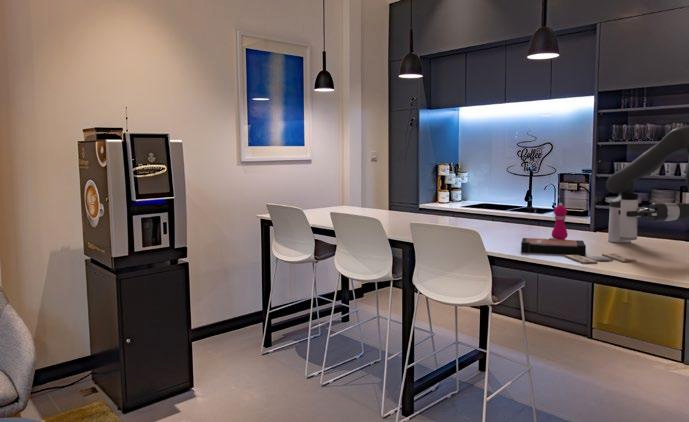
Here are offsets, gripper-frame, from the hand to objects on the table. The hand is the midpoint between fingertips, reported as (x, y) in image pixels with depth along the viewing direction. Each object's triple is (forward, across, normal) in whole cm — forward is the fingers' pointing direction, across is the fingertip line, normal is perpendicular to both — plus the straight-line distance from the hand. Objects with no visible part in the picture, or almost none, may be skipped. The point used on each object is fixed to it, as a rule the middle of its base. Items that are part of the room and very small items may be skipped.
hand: (622, 213), depth 216 cm
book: (+23, -17, +19) cm, 34 cm away
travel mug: (-2, 0, +11) cm, 11 cm away
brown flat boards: (+10, +3, +19) cm, 22 cm away
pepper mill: (+13, -35, +19) cm, 42 cm away
